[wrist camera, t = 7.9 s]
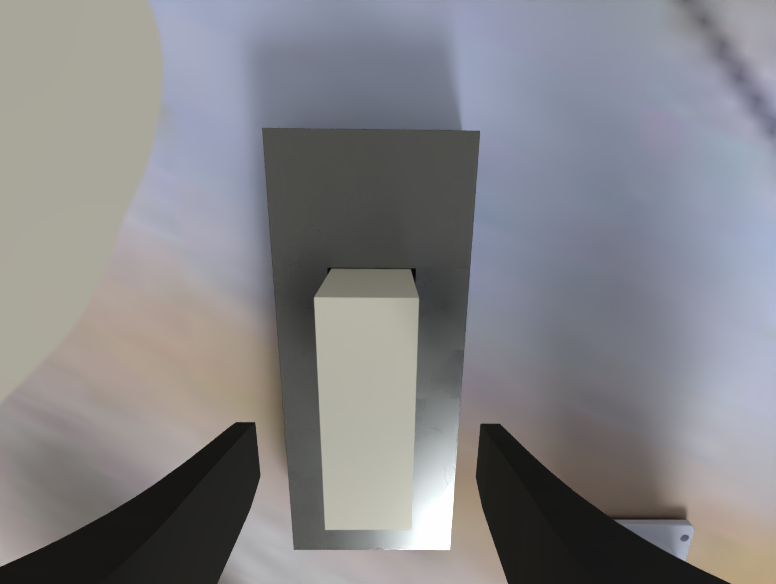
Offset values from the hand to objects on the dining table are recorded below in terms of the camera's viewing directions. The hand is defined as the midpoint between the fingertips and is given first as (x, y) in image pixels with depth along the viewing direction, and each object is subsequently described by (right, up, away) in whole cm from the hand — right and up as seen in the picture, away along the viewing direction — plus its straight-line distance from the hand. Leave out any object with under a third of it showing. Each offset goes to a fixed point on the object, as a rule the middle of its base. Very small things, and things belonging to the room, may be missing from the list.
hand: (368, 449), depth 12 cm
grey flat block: (0, +2, +8) cm, 8 cm away
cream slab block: (0, +2, +7) cm, 8 cm away
